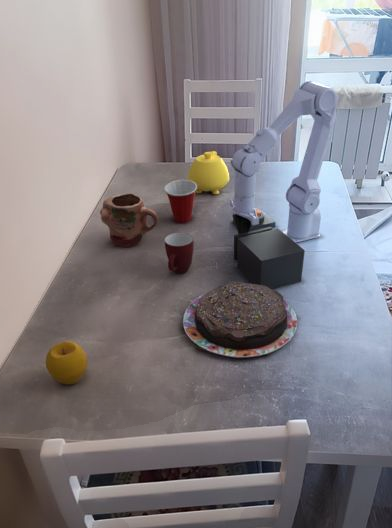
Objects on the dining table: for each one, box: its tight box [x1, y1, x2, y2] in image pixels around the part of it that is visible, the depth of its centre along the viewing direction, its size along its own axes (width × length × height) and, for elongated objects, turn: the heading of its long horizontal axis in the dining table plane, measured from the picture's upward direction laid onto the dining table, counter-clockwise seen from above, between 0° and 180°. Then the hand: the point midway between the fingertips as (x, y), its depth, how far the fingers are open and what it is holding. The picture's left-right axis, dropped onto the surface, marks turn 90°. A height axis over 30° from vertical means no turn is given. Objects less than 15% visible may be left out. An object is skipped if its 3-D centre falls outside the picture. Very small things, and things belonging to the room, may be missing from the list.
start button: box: [255, 208, 261, 217], centre depth 157 cm, size 4×4×2 cm
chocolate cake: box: [182, 281, 298, 359], centre depth 116 cm, size 28×28×7 cm
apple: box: [45, 340, 88, 386], centre depth 102 cm, size 9×8×9 cm
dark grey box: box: [232, 227, 273, 262], centre depth 137 cm, size 17×12×8 cm
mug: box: [164, 232, 195, 274], centre depth 135 cm, size 10×8×10 cm
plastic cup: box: [163, 179, 197, 224], centre depth 161 cm, size 11×11×12 cm
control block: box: [232, 211, 277, 232], centre depth 159 cm, size 11×9×4 cm
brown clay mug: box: [99, 193, 159, 248], centre depth 149 cm, size 20×12×14 cm, turn 73°
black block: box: [236, 228, 306, 290], centre depth 132 cm, size 14×13×10 cm
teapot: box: [187, 150, 230, 195], centre depth 182 cm, size 20×16×14 cm
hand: (243, 237), depth 144 cm, fingers closed
